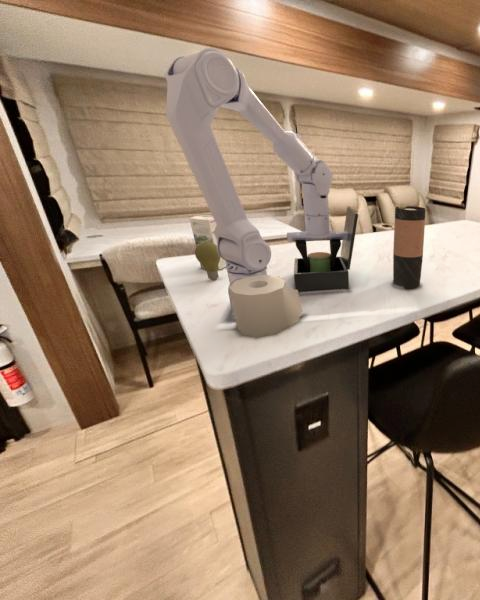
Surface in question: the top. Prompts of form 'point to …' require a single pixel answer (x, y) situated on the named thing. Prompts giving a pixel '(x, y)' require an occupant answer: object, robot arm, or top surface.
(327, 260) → the green pot
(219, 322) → the top surface
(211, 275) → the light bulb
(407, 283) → the travel mug
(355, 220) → the bin lid
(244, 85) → the robot arm
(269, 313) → the toilet tissue
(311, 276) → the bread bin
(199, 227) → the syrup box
